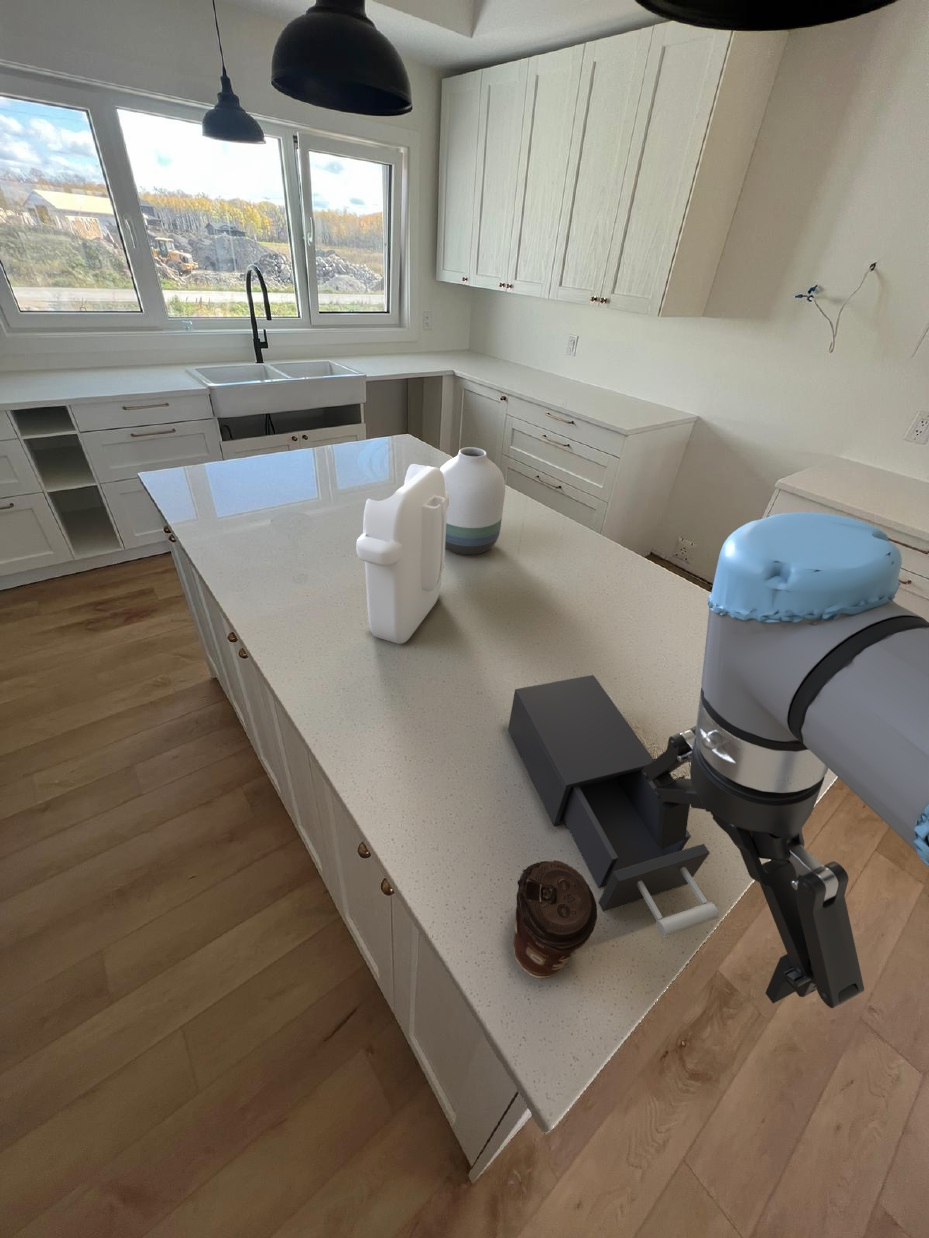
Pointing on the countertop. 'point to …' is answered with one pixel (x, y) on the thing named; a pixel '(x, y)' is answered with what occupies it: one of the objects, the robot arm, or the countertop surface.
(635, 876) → the grey drawer with handle
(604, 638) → the countertop surface
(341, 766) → the countertop surface
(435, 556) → the white jerry can
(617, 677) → the countertop surface
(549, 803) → the black drawer box
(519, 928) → the coffee cup
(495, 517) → the vase
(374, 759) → the countertop surface
